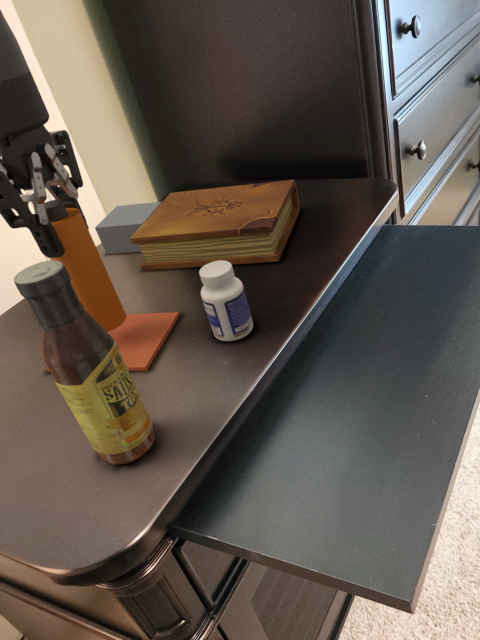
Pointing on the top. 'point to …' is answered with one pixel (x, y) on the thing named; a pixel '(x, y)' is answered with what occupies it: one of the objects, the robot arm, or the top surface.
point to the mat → (142, 337)
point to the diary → (219, 226)
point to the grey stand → (123, 227)
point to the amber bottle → (85, 266)
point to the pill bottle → (225, 301)
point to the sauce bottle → (86, 366)
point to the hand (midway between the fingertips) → (68, 243)
